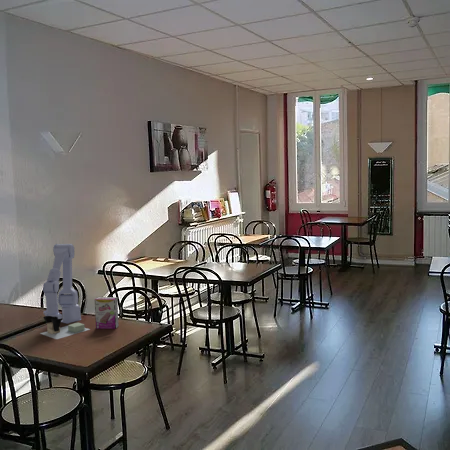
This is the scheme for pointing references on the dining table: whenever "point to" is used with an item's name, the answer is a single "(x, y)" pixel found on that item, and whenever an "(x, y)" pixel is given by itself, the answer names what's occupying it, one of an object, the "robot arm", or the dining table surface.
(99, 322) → the candy bar box
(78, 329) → the sage base block
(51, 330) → the maple block
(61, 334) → the mat
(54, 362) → the dining table surface
